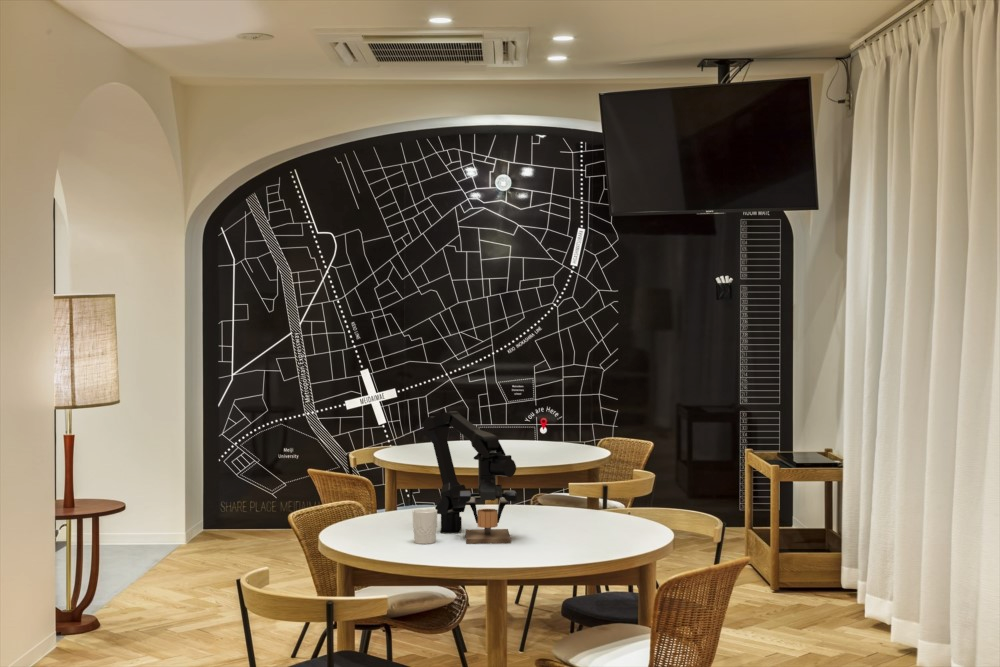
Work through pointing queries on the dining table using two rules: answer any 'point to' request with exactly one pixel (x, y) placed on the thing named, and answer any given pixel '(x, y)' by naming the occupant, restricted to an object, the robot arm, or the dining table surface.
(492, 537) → the brown piece
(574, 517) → the dining table surface
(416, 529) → the white cup
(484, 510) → the orange short hollow cylinder
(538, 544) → the dining table surface
